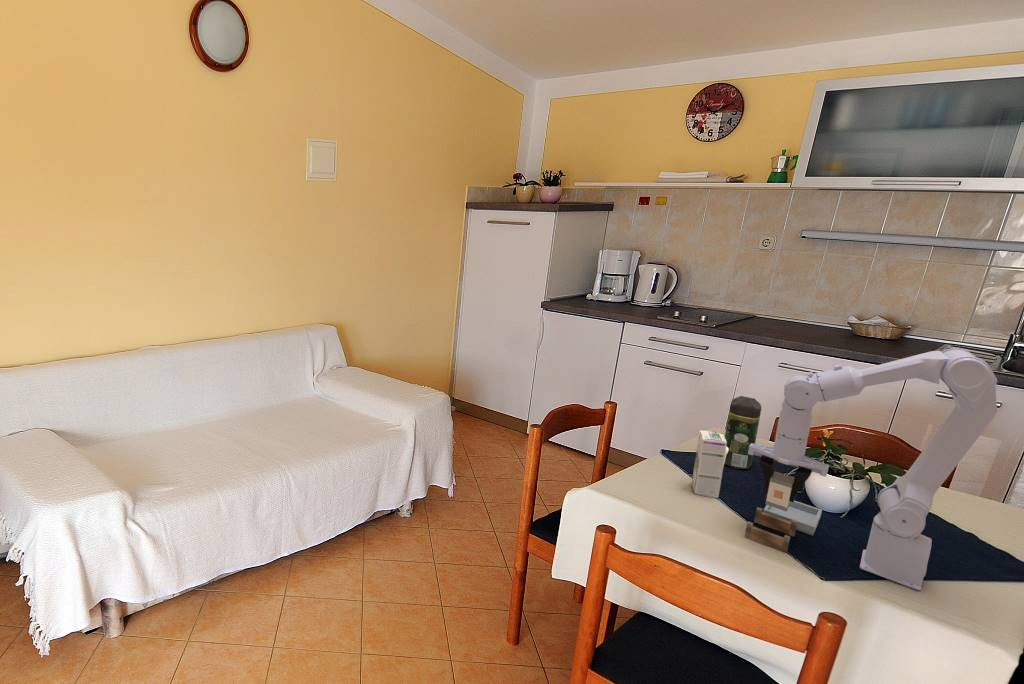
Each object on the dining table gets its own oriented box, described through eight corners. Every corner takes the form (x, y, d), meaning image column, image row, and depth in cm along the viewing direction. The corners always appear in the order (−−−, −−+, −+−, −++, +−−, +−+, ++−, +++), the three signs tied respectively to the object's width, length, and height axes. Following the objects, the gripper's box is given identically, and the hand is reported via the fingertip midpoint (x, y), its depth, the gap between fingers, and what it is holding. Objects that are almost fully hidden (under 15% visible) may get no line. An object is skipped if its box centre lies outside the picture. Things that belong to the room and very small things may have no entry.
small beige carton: (790, 504, 111) (796, 477, 110) (786, 511, 108) (792, 484, 106) (769, 497, 113) (774, 471, 112) (765, 504, 110) (770, 477, 109)
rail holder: (794, 534, 113) (797, 521, 112) (786, 553, 105) (789, 538, 105) (755, 520, 117) (757, 507, 117) (744, 536, 110) (747, 523, 109)
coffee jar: (722, 453, 153) (732, 392, 149) (751, 460, 150) (763, 397, 146) (718, 465, 145) (730, 400, 141) (750, 473, 141) (762, 407, 137)
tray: (820, 517, 121) (822, 509, 120) (813, 536, 113) (815, 527, 112) (772, 501, 127) (773, 493, 126) (761, 517, 119) (763, 509, 118)
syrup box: (718, 498, 126) (729, 441, 123) (693, 494, 127) (702, 437, 124) (714, 487, 131) (724, 432, 128) (690, 483, 132) (699, 429, 129)
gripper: (749, 429, 108) (738, 490, 111) (830, 451, 100) (816, 516, 103) (757, 421, 114) (746, 479, 117) (834, 441, 105) (821, 503, 108)
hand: (779, 496), depth 110 cm, fingers closed on small beige carton, 4 cm apart
